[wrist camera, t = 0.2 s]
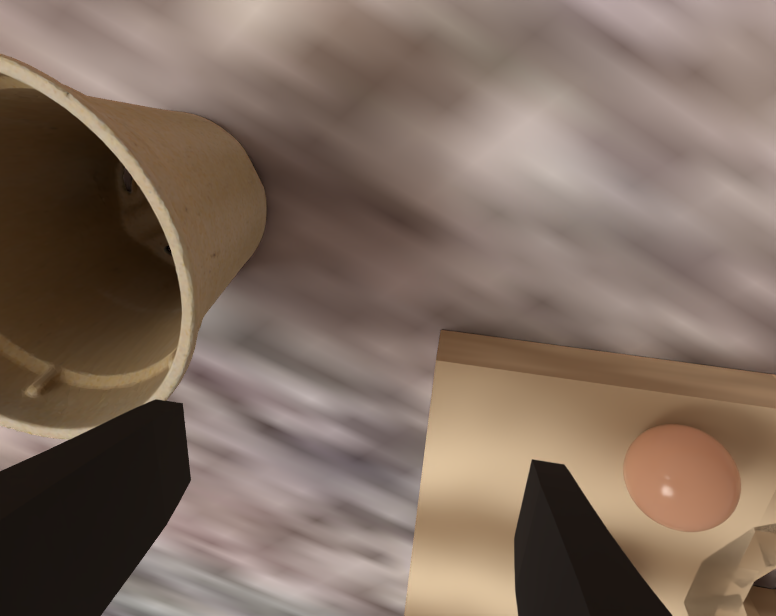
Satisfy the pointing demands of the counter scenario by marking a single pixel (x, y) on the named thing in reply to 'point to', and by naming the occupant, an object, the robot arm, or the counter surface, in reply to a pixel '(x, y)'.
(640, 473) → the terracotta ball
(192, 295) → the flower pot
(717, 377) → the board
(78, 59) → the counter surface
